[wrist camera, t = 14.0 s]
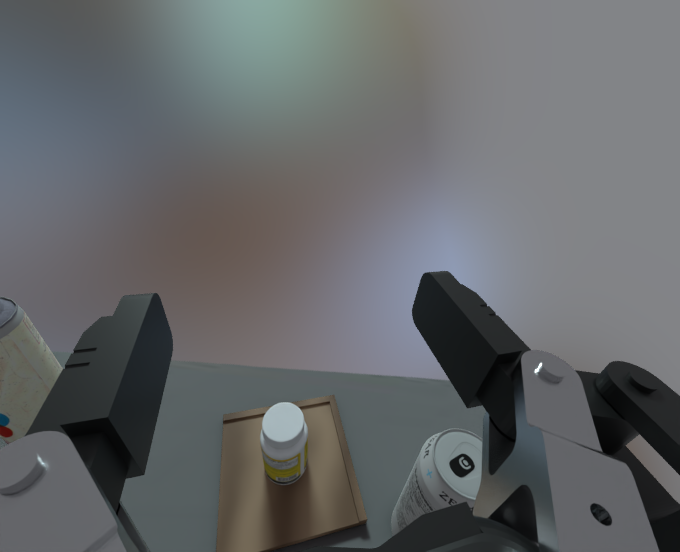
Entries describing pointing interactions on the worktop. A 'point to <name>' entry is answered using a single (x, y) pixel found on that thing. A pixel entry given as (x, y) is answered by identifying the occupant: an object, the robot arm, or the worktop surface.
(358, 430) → the worktop surface
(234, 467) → the walnut board
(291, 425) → the supplement bottle
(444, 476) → the energy drink can
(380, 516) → the worktop surface
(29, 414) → the aerosol can
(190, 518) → the worktop surface
